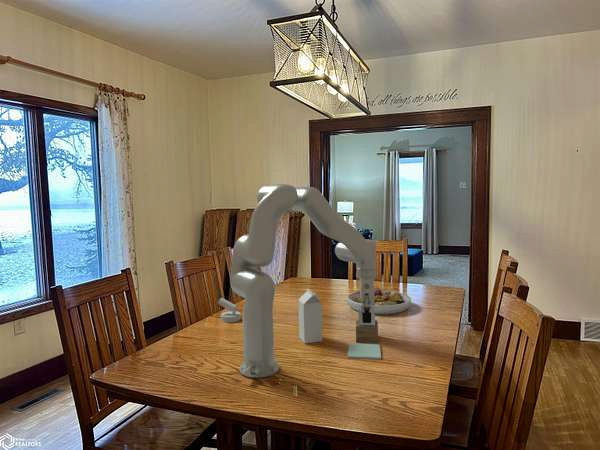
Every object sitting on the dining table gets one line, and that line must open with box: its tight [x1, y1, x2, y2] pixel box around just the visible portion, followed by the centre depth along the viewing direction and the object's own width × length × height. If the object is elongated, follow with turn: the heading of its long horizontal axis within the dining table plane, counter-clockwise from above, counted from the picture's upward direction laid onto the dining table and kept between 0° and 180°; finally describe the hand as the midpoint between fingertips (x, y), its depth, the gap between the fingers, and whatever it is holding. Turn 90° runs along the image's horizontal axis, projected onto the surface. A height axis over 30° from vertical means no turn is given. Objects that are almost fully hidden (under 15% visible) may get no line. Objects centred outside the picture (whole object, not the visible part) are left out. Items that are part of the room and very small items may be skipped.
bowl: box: [346, 286, 412, 316], centre depth 201 cm, size 30×30×8 cm
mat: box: [347, 342, 382, 360], centre depth 146 cm, size 12×11×1 cm
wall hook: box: [217, 297, 242, 324], centre depth 186 cm, size 9×10×10 cm
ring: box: [358, 305, 376, 326], centre depth 158 cm, size 6×6×6 cm
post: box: [355, 302, 379, 344], centre depth 159 cm, size 8×8×15 cm
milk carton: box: [298, 288, 324, 344], centre depth 159 cm, size 7×7×19 cm
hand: (366, 319), depth 159 cm, fingers closed on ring, 6 cm apart
